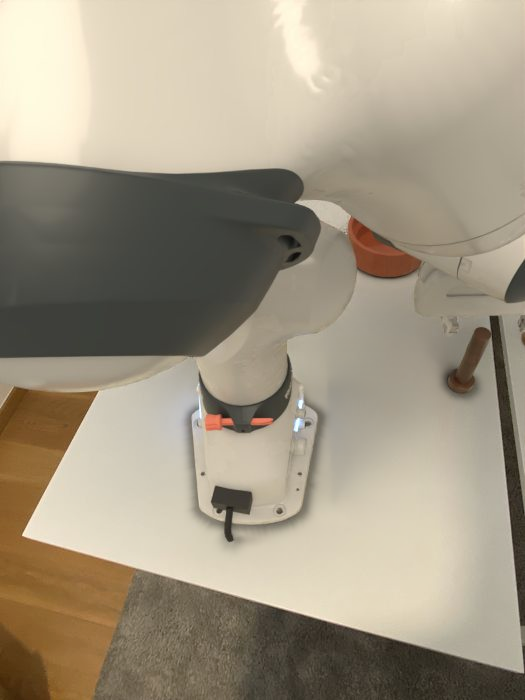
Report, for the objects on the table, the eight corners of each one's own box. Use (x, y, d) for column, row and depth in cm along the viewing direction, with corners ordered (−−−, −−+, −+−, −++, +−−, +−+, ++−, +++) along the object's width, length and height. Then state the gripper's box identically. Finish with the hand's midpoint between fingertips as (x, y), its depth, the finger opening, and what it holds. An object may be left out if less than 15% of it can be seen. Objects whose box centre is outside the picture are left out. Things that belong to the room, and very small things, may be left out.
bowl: (431, 278, 88) (438, 253, 83) (348, 281, 90) (351, 256, 85) (418, 224, 97) (424, 199, 92) (343, 227, 98) (345, 202, 93)
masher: (474, 393, 74) (500, 343, 64) (449, 394, 75) (471, 344, 65) (469, 373, 76) (493, 322, 66) (445, 373, 77) (465, 322, 67)
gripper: (427, 275, 53) (407, 349, 64) (634, 269, 51) (576, 347, 62) (419, 234, 56) (401, 311, 68) (612, 227, 54) (561, 308, 66)
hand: (486, 328), depth 65 cm, fingers open, 8 cm apart
